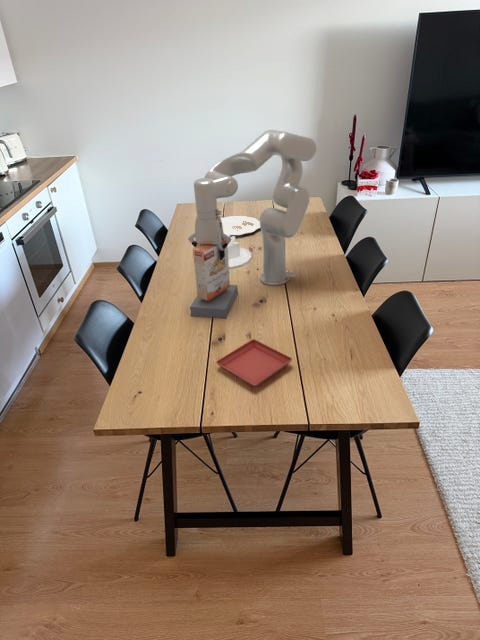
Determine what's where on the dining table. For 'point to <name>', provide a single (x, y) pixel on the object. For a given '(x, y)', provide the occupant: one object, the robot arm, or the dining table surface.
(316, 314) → the dining table surface
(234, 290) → the base block
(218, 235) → the robot arm
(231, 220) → the plate
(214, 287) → the cracker box
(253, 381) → the plant saucer
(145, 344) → the dining table surface
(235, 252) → the dish
